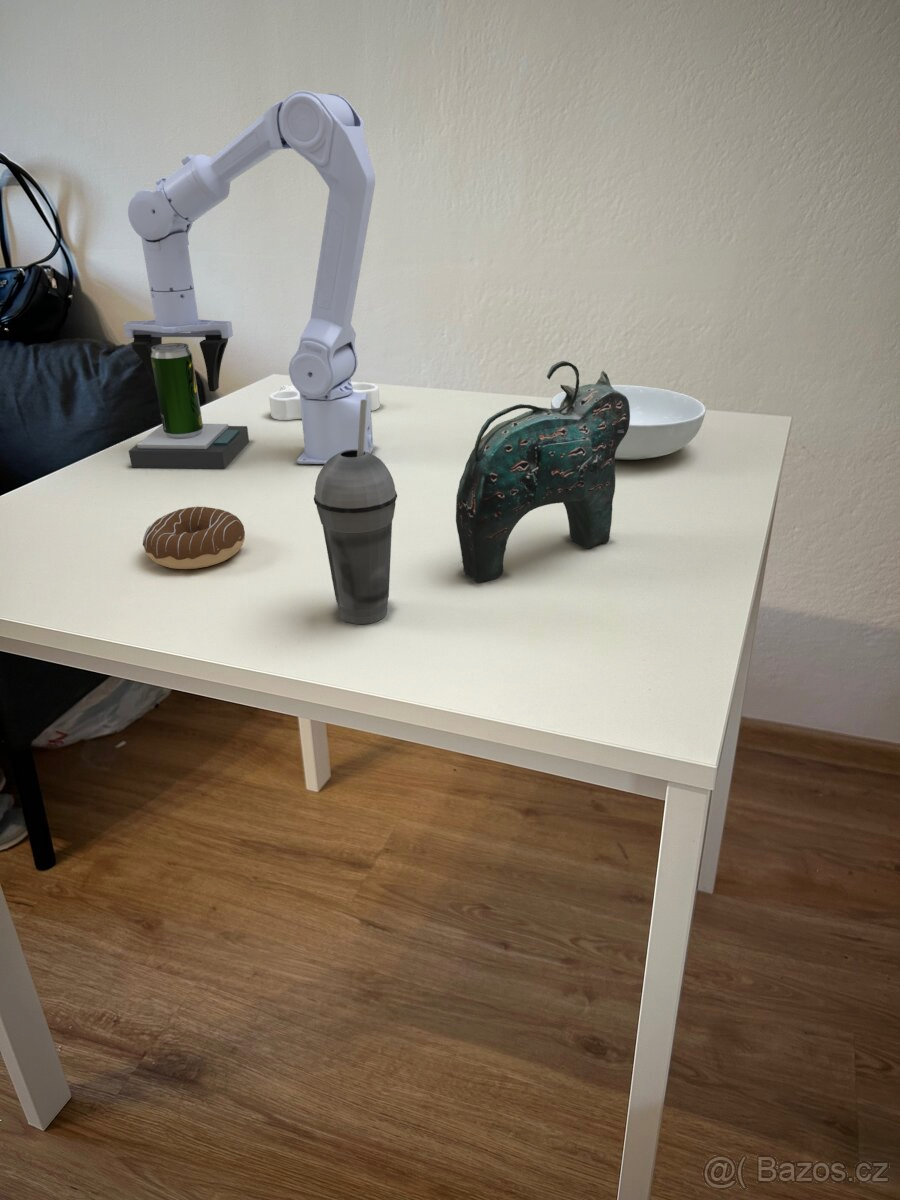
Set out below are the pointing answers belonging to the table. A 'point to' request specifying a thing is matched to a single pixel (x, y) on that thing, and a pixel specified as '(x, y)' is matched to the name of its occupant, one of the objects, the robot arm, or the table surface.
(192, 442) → the scale
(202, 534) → the donut
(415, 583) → the table surface
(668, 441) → the serving bowl
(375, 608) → the beverage cup
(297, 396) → the knuckle duster
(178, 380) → the beer can
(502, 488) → the ceramic cat
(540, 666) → the table surface
